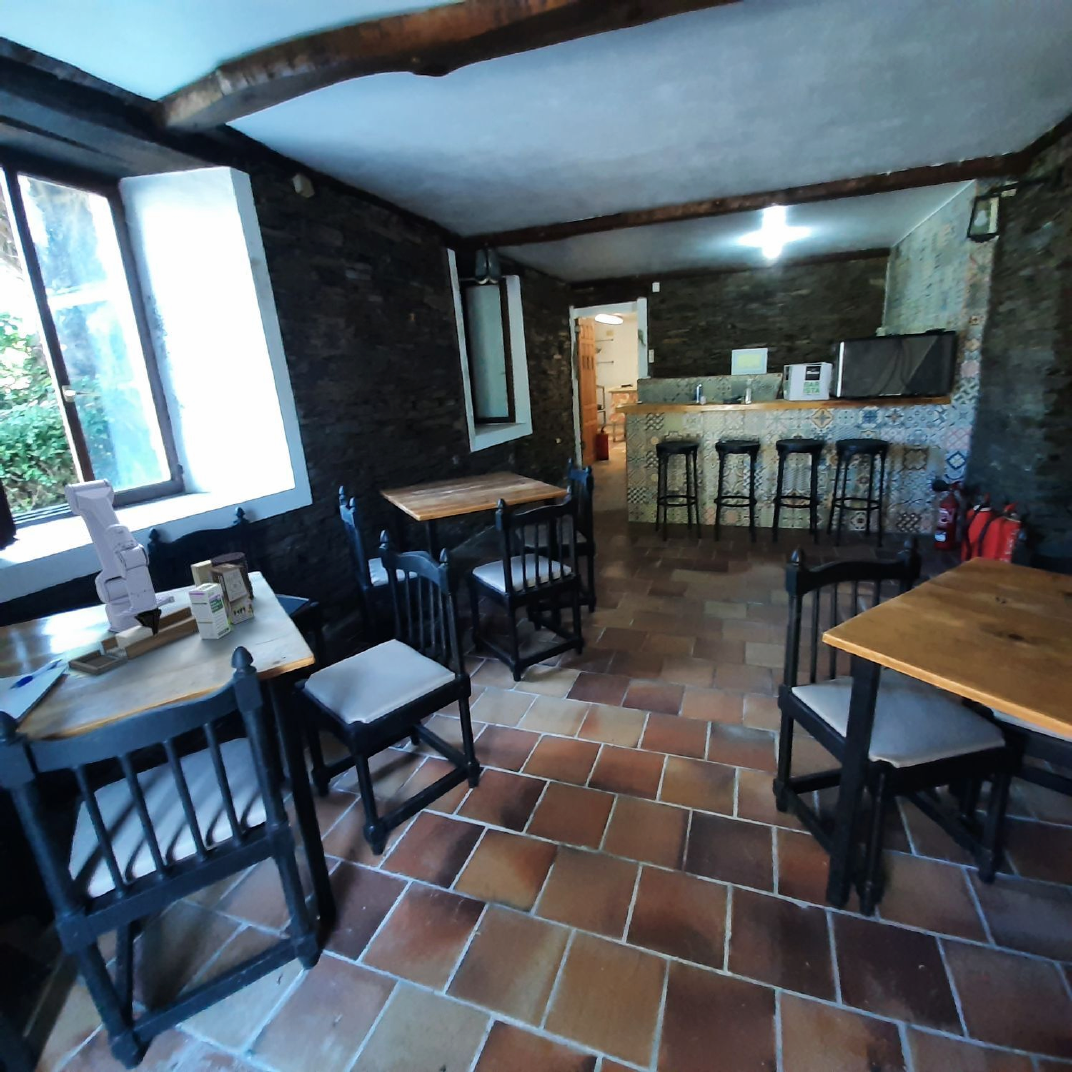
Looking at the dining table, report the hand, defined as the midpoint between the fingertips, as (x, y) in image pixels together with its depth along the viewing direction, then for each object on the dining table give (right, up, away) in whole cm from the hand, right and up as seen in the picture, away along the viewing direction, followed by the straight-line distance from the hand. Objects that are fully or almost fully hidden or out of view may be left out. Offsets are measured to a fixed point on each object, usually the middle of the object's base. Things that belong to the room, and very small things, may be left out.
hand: (153, 635), depth 154 cm
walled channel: (+1, -1, +2) cm, 3 cm away
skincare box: (-2, +7, +30) cm, 31 cm away
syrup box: (+17, 0, +1) cm, 17 cm away
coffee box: (+17, +3, +12) cm, 21 cm away
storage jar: (+10, +7, +26) cm, 28 cm away
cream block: (-2, -2, -4) cm, 5 cm away
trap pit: (-6, -5, -12) cm, 14 cm away
